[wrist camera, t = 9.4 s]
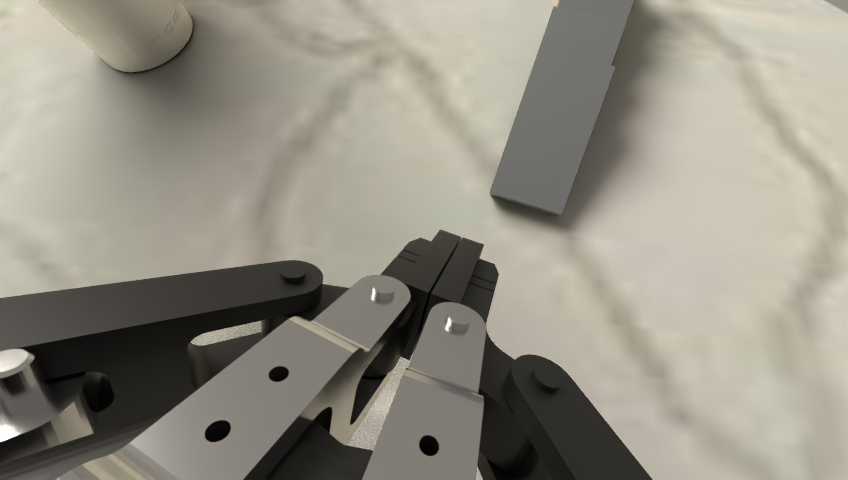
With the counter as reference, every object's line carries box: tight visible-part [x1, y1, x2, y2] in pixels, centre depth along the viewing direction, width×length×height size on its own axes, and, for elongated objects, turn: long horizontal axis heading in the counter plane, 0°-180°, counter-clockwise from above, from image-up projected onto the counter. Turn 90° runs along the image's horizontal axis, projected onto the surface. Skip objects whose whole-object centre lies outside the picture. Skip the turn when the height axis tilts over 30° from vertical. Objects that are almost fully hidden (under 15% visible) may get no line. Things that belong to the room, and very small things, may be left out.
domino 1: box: [557, 0, 634, 19], centre depth 26 cm, size 5×2×10 cm
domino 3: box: [490, 50, 616, 216], centre depth 24 cm, size 5×2×10 cm
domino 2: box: [539, 7, 627, 65], centre depth 25 cm, size 5×2×10 cm
